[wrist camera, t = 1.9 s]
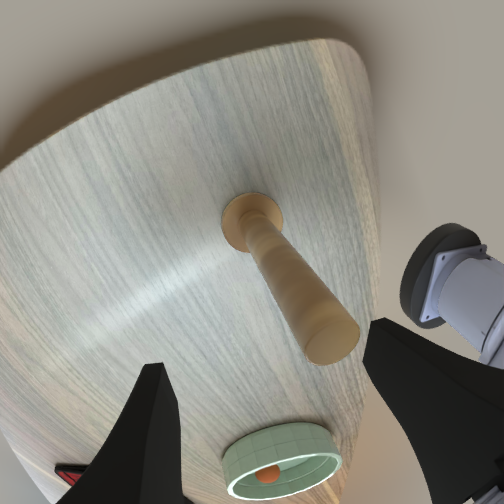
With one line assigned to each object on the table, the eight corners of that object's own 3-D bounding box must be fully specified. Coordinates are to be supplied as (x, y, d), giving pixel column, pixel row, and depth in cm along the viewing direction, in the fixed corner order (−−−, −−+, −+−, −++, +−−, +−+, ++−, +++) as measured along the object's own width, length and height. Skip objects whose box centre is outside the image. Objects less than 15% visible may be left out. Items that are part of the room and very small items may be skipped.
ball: (277, 455, 29) (283, 475, 26) (276, 464, 30) (282, 483, 27) (252, 460, 28) (257, 480, 26) (253, 469, 30) (258, 488, 27)
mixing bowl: (337, 408, 28) (353, 439, 24) (321, 459, 33) (331, 483, 29) (214, 434, 26) (220, 470, 22) (227, 478, 31) (233, 506, 27)
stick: (280, 190, 17) (397, 281, 8) (279, 245, 19) (371, 369, 9) (219, 195, 17) (275, 304, 7) (223, 252, 18) (272, 396, 8)
